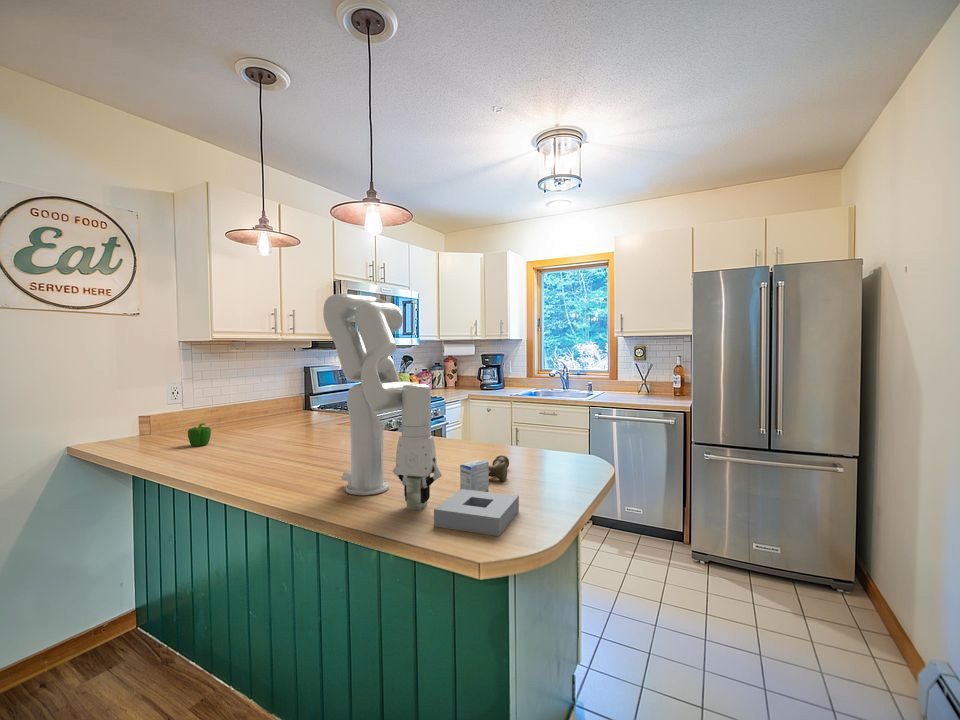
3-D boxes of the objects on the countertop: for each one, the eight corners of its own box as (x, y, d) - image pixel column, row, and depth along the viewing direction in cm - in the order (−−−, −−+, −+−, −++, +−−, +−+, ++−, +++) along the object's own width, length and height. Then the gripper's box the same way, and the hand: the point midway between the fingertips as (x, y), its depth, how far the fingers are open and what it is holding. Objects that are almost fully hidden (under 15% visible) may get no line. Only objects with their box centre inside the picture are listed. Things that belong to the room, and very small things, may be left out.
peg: (406, 508, 113) (406, 477, 113) (414, 503, 117) (413, 473, 117) (420, 510, 112) (419, 479, 112) (427, 505, 115) (427, 475, 115)
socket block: (434, 526, 101) (433, 509, 101) (461, 503, 116) (460, 488, 116) (499, 536, 96) (499, 518, 96) (518, 511, 111) (518, 495, 111)
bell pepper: (183, 447, 188) (182, 424, 188) (200, 443, 196) (200, 421, 196) (197, 448, 186) (197, 425, 185) (215, 444, 193) (214, 422, 193)
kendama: (516, 471, 150) (500, 486, 131) (489, 470, 153) (470, 484, 134) (515, 454, 150) (500, 466, 131) (489, 452, 153) (470, 465, 134)
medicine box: (477, 487, 130) (477, 458, 130) (489, 490, 127) (489, 461, 127) (459, 494, 124) (459, 464, 124) (471, 497, 121) (471, 466, 121)
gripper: (381, 431, 113) (381, 501, 114) (438, 435, 107) (439, 509, 108) (396, 427, 120) (397, 492, 121) (451, 430, 114) (451, 499, 115)
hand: (417, 499), depth 114 cm, fingers closed on peg, 4 cm apart
